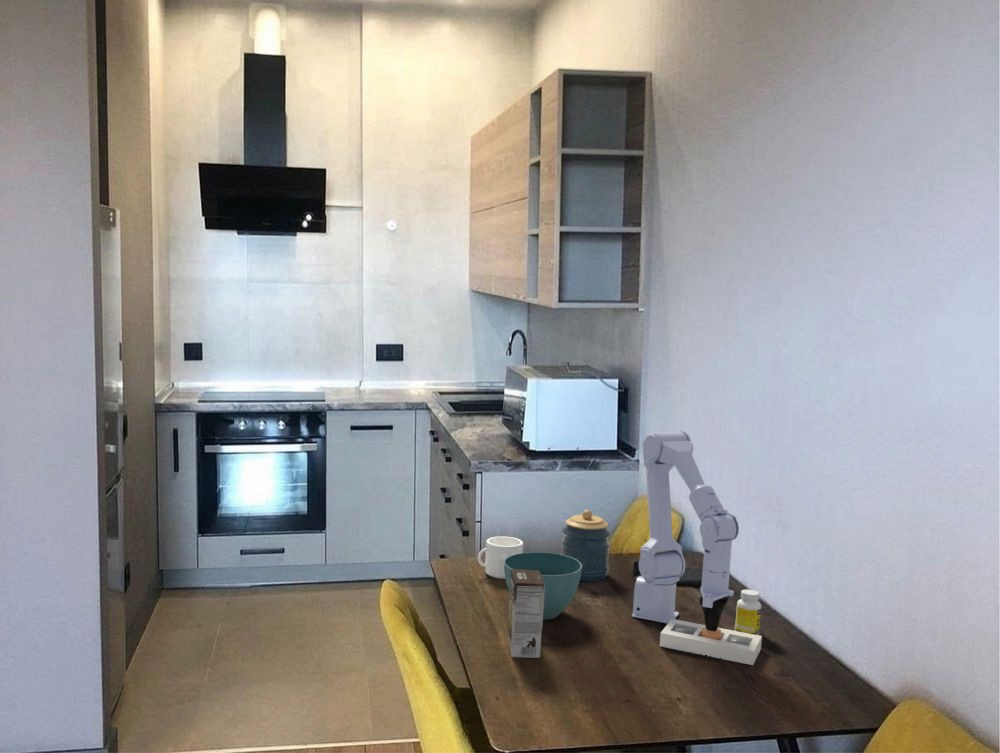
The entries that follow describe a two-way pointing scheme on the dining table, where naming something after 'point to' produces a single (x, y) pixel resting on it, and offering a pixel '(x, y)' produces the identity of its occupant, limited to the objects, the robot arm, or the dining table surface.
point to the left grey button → (684, 630)
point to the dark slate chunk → (688, 578)
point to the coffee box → (526, 613)
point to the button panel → (711, 642)
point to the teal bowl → (549, 577)
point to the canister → (587, 544)
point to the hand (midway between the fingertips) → (711, 629)
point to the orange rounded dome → (711, 633)
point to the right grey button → (739, 640)
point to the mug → (499, 554)
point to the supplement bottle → (748, 612)
